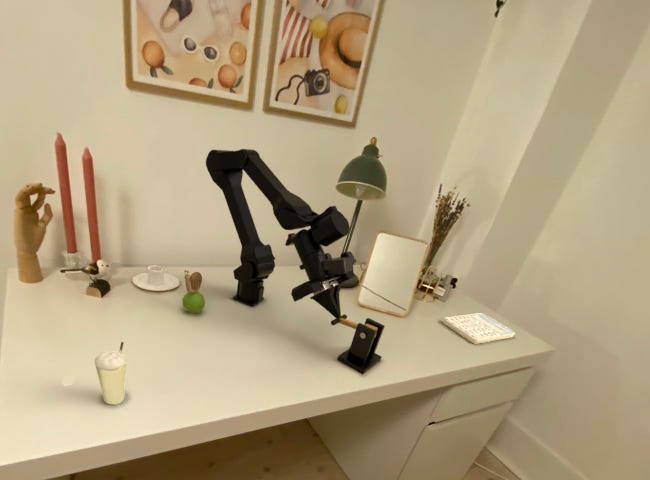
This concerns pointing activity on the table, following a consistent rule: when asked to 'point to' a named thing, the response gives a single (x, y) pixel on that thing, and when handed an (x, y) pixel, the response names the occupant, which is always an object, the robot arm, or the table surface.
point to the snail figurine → (193, 293)
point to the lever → (349, 323)
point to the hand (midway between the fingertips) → (338, 317)
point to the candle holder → (156, 279)
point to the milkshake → (112, 375)
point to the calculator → (478, 328)
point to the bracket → (363, 347)
